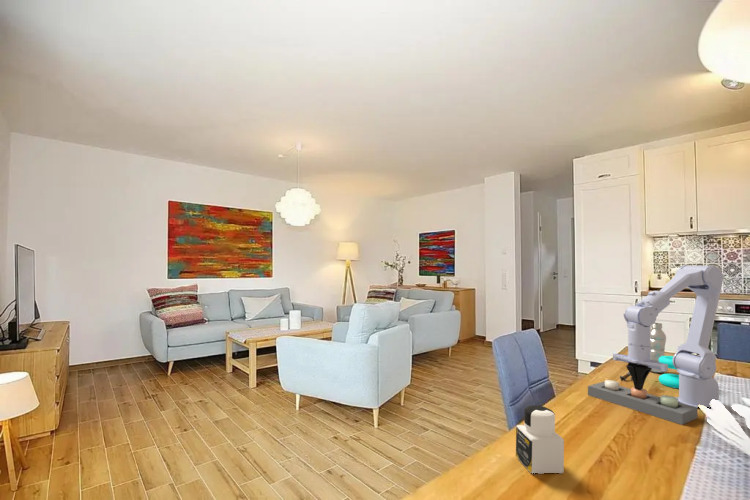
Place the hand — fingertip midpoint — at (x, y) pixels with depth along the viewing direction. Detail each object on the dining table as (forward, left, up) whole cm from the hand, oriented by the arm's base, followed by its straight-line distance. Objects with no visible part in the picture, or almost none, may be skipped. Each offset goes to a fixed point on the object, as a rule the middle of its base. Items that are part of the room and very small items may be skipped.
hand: (638, 388), depth 118 cm
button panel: (0, 0, -5) cm, 5 cm away
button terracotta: (0, 0, -3) cm, 3 cm away
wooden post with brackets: (-15, -26, -6) cm, 31 cm away
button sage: (-4, +7, -3) cm, 8 cm away
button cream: (+4, -7, -3) cm, 8 cm away
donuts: (-29, -21, -5) cm, 36 cm away
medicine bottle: (+47, +35, -5) cm, 59 cm away
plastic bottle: (-35, -38, -5) cm, 51 cm away
